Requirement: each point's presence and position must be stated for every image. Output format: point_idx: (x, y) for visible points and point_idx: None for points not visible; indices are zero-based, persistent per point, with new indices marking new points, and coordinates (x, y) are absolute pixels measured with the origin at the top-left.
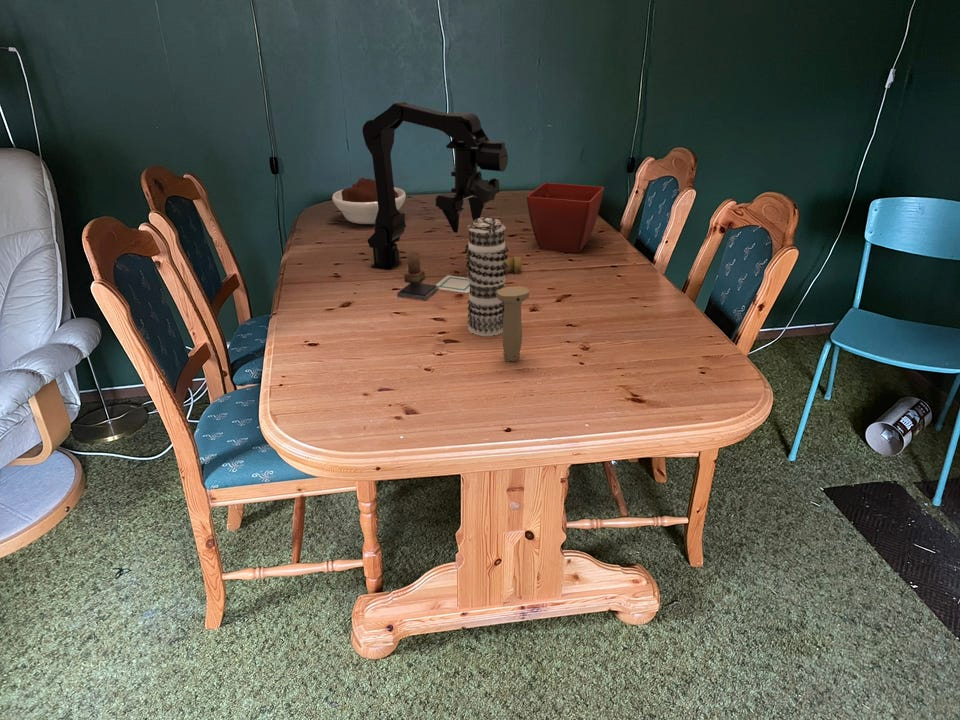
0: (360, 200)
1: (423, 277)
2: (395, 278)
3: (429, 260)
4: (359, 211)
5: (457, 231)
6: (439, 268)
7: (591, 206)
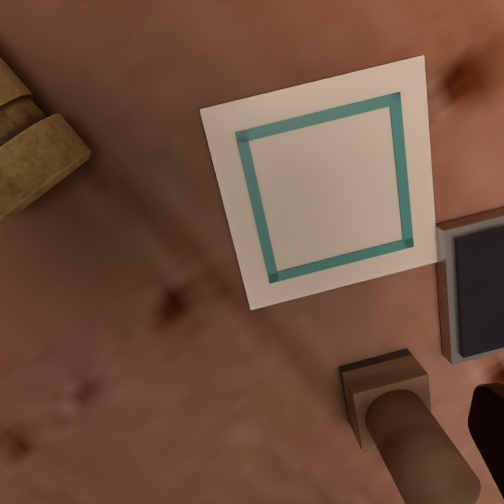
0: None
1: (354, 369)
2: None
3: (122, 496)
4: None
5: (499, 388)
6: (182, 401)
7: None
